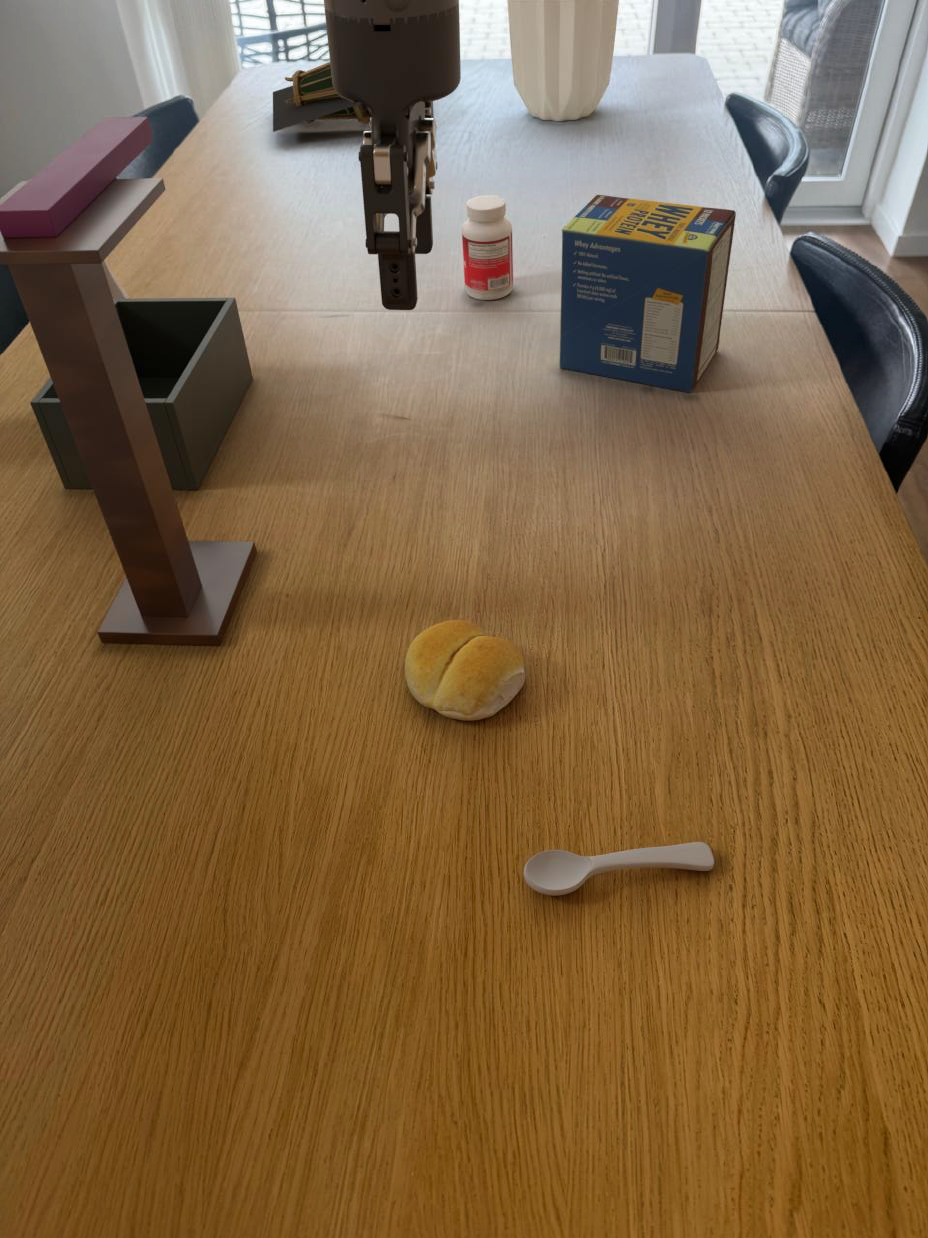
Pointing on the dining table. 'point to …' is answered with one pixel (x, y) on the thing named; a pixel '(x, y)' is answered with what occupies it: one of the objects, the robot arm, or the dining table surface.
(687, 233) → the protein box
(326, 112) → the lantern
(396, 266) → the robot arm
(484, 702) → the bread roll
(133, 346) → the trash bin
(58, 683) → the dining table surface
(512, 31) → the vase
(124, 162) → the pink rectangular block
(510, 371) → the dining table surface
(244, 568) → the shelf stand
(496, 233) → the pill bottle
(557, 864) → the spoon
